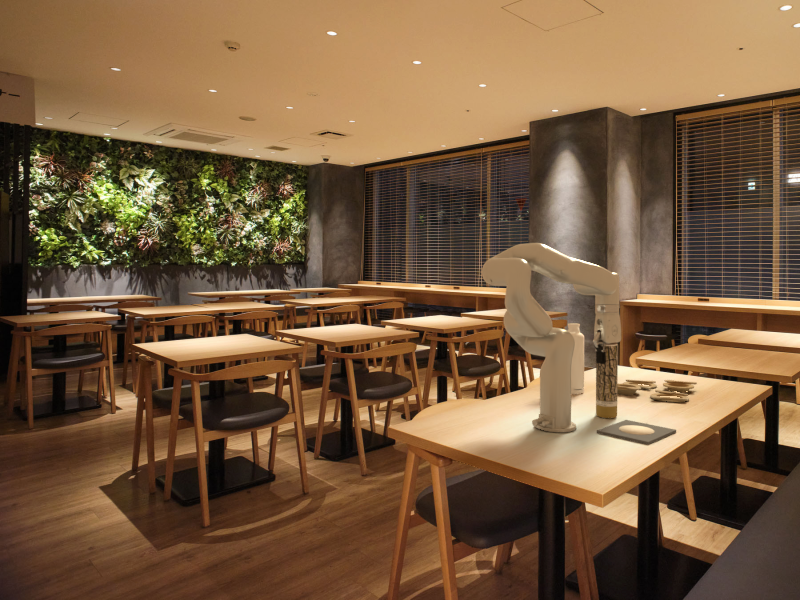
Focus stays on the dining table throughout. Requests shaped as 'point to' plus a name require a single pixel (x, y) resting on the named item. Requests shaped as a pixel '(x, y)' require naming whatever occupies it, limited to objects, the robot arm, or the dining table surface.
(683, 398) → the tableware set
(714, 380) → the dining table surface
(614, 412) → the bark-textured tube
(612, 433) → the card
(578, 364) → the bottle
